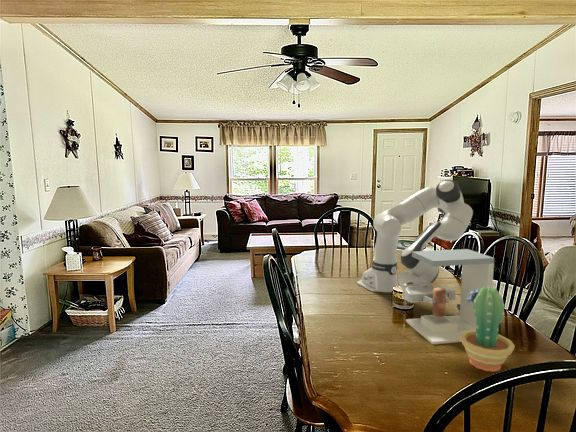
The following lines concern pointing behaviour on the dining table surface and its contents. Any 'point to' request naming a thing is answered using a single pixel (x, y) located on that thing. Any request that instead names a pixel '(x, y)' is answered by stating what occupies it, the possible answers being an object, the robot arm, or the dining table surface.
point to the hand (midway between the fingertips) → (440, 301)
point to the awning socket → (473, 277)
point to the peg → (439, 302)
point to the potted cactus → (486, 331)
